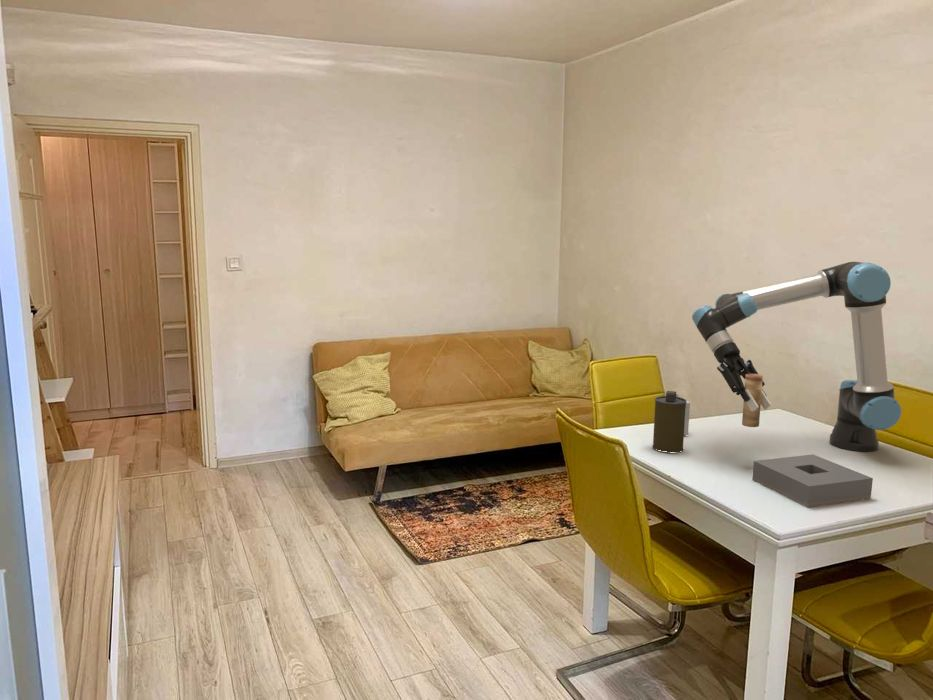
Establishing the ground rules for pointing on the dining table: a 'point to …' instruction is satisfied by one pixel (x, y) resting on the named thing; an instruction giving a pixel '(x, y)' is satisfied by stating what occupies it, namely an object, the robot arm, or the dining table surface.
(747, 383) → the oak peg
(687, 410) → the supplement box
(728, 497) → the dining table surface
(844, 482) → the socket block
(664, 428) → the canister
